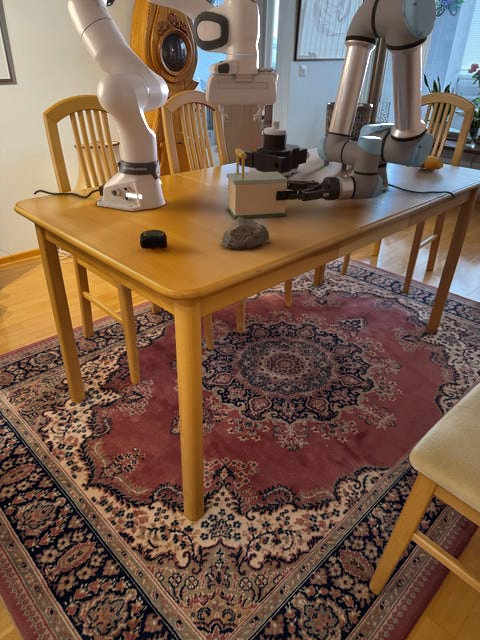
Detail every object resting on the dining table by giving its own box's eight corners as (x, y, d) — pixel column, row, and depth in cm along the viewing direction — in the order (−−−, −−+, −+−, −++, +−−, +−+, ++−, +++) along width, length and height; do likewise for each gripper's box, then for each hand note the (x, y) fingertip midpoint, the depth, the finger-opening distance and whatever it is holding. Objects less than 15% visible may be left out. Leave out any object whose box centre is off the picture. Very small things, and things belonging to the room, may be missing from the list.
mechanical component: (240, 120, 182) (283, 115, 202) (239, 174, 192) (280, 164, 212) (283, 126, 170) (325, 120, 190) (280, 183, 180) (320, 171, 200)
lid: (233, 184, 135) (234, 153, 131) (226, 176, 144) (226, 147, 139) (287, 182, 139) (289, 152, 134) (277, 175, 147) (278, 146, 143)
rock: (255, 233, 128) (256, 211, 124) (276, 242, 122) (278, 219, 119) (217, 244, 120) (217, 220, 117) (239, 254, 115) (239, 230, 111)
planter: (313, 167, 208) (319, 103, 195) (331, 160, 222) (338, 101, 209) (353, 173, 199) (362, 107, 185) (369, 166, 213) (379, 104, 199)
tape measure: (140, 252, 115) (139, 238, 113) (141, 242, 120) (140, 229, 119) (167, 251, 116) (166, 237, 114) (167, 241, 121) (166, 228, 120)
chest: (235, 218, 140) (235, 184, 135) (228, 209, 149) (228, 177, 144) (284, 216, 144) (287, 182, 139) (275, 207, 152) (277, 175, 147)
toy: (417, 163, 202) (411, 156, 215) (419, 177, 205) (413, 169, 218) (444, 155, 199) (436, 148, 211) (446, 170, 202) (438, 162, 214)
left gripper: (274, 67, 129) (272, 119, 136) (204, 65, 125) (205, 120, 132) (281, 67, 124) (278, 122, 131) (208, 66, 120) (208, 123, 127)
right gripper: (324, 169, 156) (262, 171, 152) (353, 185, 137) (283, 188, 133) (321, 191, 160) (261, 193, 155) (349, 209, 141) (282, 213, 136)
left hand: (241, 121), depth 132 cm, fingers open, 8 cm apart
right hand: (271, 191), depth 144 cm, fingers closed on chest, 10 cm apart
